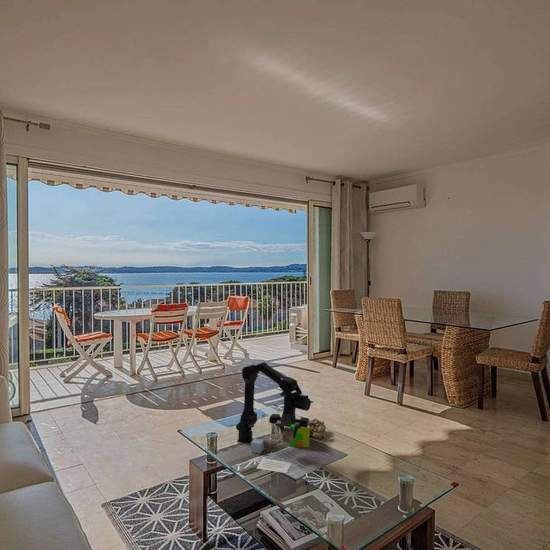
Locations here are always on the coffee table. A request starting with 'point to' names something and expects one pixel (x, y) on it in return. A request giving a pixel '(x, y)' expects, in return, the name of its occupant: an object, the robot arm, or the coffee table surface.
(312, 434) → the mineral formation
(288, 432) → the walnut block
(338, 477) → the coffee table surface
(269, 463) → the letter
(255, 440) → the blue cube
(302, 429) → the puzzle toy
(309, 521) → the coffee table surface
